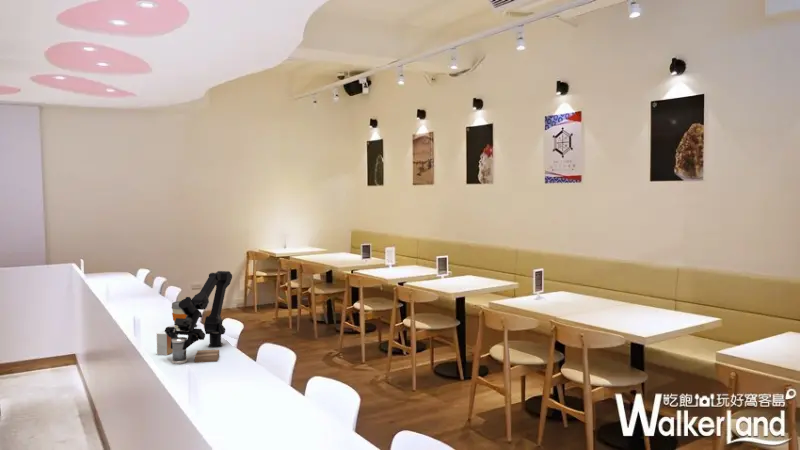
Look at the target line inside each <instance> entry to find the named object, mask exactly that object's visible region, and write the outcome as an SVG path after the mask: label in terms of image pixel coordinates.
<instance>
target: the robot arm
mask: <svg viewBox="0 0 800 450" xmlns="http://www.w3.org/2000/svg"><path fill="white" fill-rule="evenodd" d="M232 279H233V274H232V273H231V272H230V271H229V270H227V271H226V270H218V271H216V272H210V273H209V274H208V277H207V279H206V281H205V283H204V284H203V286H202V288H201V289H200V290H199V292H198V293H197V294H196V293H195V295H194V296H193V297H192V298H191V296H186V297H185V298H183V299H181V300H180V301H181V302H179V307H180V309H181V310H182V311H183V313H184V314H185V315H187V316H186V318H185V319H183V318H176V320H175V323H174V324H173V325H174V326H167V327H165V329H164V331H165V333H166V334H167V335H168V336H169V337H171V349H172V339H173V338H177V337H179V335H182V336H187V337H186V338H187V340H186V343H185V345H184V347H183V349H184V350H185V349H186V350H187V349H188V348H189V347H190V346H191V345H193V344H195V343H196V342H197V341H200V340H201V341H203V340H205V338H206V335H209V344H208V345H207V346H208V348H216V347H217V348H218V347H219V348H220V347H222V346H223V342H222V335H225V333H226V328H225V327H224V325H223V319H222V316H221V313H222V310H223V304H224V299H225V295H226V291H227V290H226V289H227V288H228V287H229V285H230V284H231V281H232ZM214 289H215V291H214ZM213 291H214V297H213V301H212V307H211V309H210V310H211V311H210V314H209V315H208V316H205V320H204V323H203V329H204V331H203V329H202V328H197V327H198V325H197V323H198V321H199V319H200V318H202V319H203V314H202V311H201V310H204V311H205V310H206V309H207V307H208V304H209V303H210V296H211V294H212V292H213ZM175 325H177V326H178V328H179V329H180V330H177V329H175Z"/></svg>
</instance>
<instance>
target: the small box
mask: <svg viewBox="0 0 800 450" xmlns="http://www.w3.org/2000/svg"><path fill="white" fill-rule="evenodd" d="M157 354H160V355H162V356H168V355H170V354H173V349H171V337H169V336H168V335H167V334H166V333H165V330H163V331H160V332H157V333H156V355H157Z"/></svg>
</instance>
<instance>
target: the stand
mask: <svg viewBox="0 0 800 450" xmlns="http://www.w3.org/2000/svg"><path fill="white" fill-rule="evenodd" d="M219 358H220V349H205V350H204V349H203V350H200V349H199V350H197V351H196V353H195V355H194V363H209V362H210V363H211V362H213V363H214V362H218V360H219Z"/></svg>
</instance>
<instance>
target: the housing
mask: <svg viewBox="0 0 800 450" xmlns="http://www.w3.org/2000/svg"><path fill="white" fill-rule="evenodd" d="M187 338H188V337H185V336H177V338H173V339H172V349H173V353H172V359H171V364H173V365H183V364H186V363H188V358H187V348H186V349H185V350H184V349H183V347H184V345H185V343H186V340H187Z"/></svg>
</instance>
